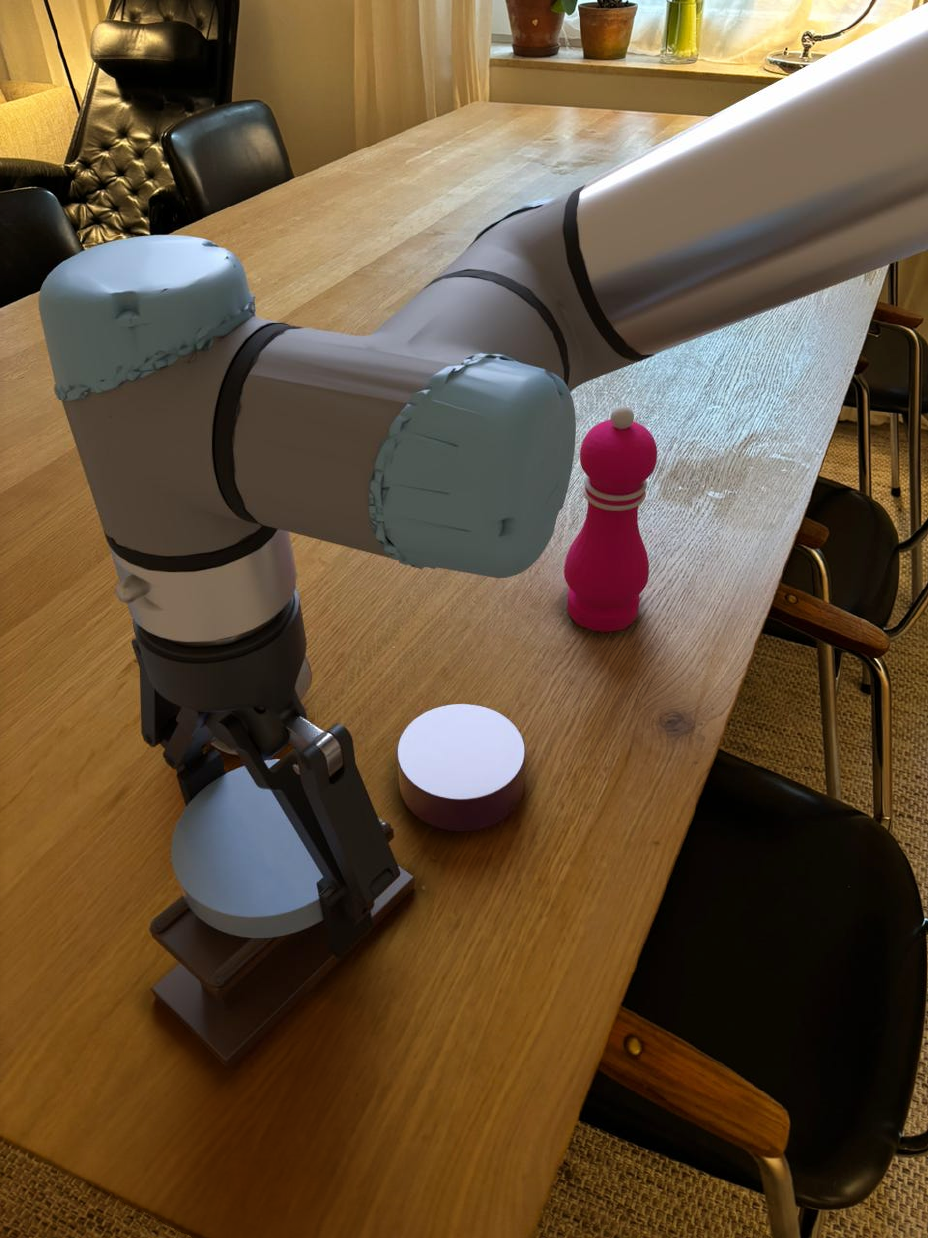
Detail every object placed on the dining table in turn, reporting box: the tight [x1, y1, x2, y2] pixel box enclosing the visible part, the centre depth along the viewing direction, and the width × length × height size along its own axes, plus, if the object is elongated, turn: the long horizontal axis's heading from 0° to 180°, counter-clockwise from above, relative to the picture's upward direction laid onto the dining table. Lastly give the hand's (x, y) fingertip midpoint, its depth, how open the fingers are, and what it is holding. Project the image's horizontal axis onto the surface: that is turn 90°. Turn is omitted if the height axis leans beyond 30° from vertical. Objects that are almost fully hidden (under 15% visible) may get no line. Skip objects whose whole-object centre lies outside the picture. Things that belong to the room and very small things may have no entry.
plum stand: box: [396, 703, 526, 832], centre depth 72 cm, size 9×9×4 cm
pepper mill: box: [563, 405, 658, 633], centre depth 82 cm, size 7×7×20 cm
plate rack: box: [148, 817, 415, 1071], centre depth 61 cm, size 7×16×8 cm, turn 140°
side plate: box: [170, 758, 323, 938], centre depth 57 cm, size 11×11×2 cm
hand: (281, 883), depth 59 cm, fingers closed on side plate, 11 cm apart
